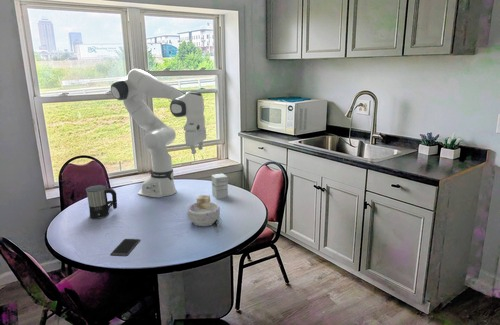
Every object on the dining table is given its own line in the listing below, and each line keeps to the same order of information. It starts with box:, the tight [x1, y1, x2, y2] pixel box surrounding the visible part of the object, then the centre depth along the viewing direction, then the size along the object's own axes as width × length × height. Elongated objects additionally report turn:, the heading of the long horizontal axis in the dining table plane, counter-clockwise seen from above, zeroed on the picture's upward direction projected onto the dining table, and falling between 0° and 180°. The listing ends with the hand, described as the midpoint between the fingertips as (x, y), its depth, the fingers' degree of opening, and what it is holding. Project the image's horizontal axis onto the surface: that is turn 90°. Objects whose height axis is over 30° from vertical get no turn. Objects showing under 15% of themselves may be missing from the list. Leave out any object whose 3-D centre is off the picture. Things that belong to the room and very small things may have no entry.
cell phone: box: [110, 238, 141, 257], centre depth 147 cm, size 7×14×1 cm, turn 174°
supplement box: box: [211, 173, 229, 200], centre depth 203 cm, size 7×7×13 cm
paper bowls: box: [187, 201, 221, 227], centre depth 169 cm, size 15×15×8 cm
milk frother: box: [85, 184, 118, 219], centre depth 182 cm, size 14×16×15 cm
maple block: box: [196, 194, 211, 209], centre depth 167 cm, size 5×5×5 cm
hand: (197, 151), depth 179 cm, fingers open, 8 cm apart
